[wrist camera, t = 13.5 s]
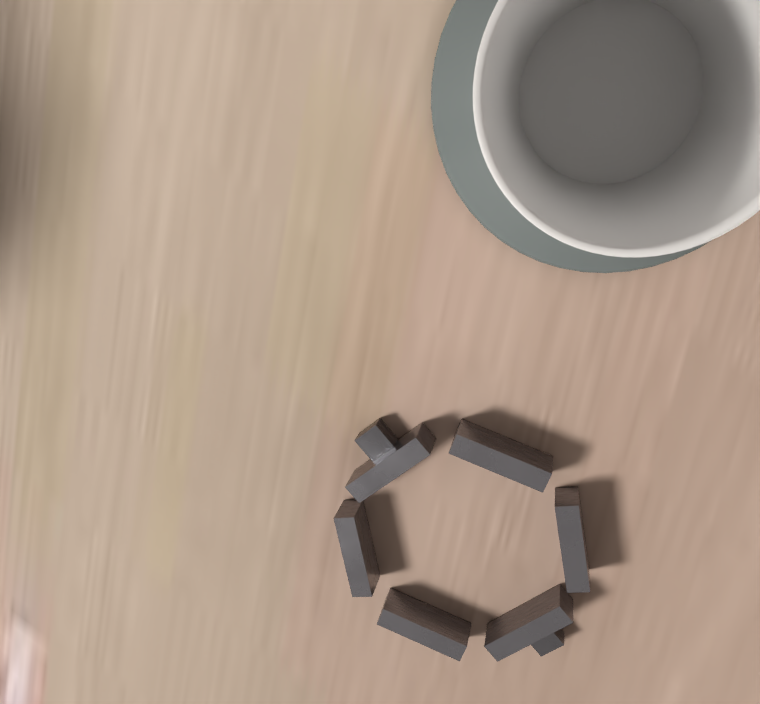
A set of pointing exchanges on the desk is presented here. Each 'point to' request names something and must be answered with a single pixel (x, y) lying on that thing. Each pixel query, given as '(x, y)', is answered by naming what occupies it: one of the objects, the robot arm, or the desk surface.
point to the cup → (623, 119)
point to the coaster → (470, 166)
